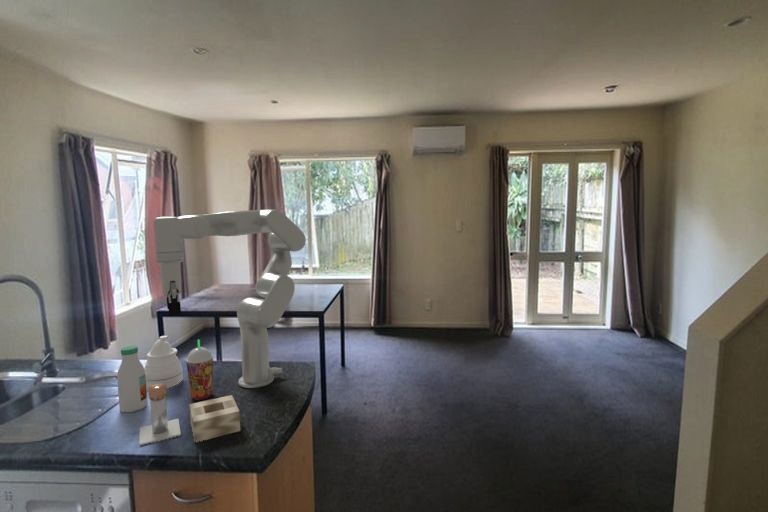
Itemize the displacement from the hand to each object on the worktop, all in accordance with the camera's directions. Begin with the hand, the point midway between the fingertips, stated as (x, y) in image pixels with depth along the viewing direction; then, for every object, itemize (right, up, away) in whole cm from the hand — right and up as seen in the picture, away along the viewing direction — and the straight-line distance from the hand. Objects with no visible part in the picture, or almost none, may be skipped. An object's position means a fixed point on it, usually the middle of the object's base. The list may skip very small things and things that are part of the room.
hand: (174, 311), depth 126 cm
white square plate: (+1, -33, -10) cm, 35 cm away
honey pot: (-17, -30, +25) cm, 42 cm away
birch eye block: (+16, -33, -7) cm, 37 cm away
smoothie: (+3, -31, +13) cm, 34 cm away
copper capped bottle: (+1, -33, -10) cm, 34 cm away
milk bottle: (-16, -32, +6) cm, 36 cm away
